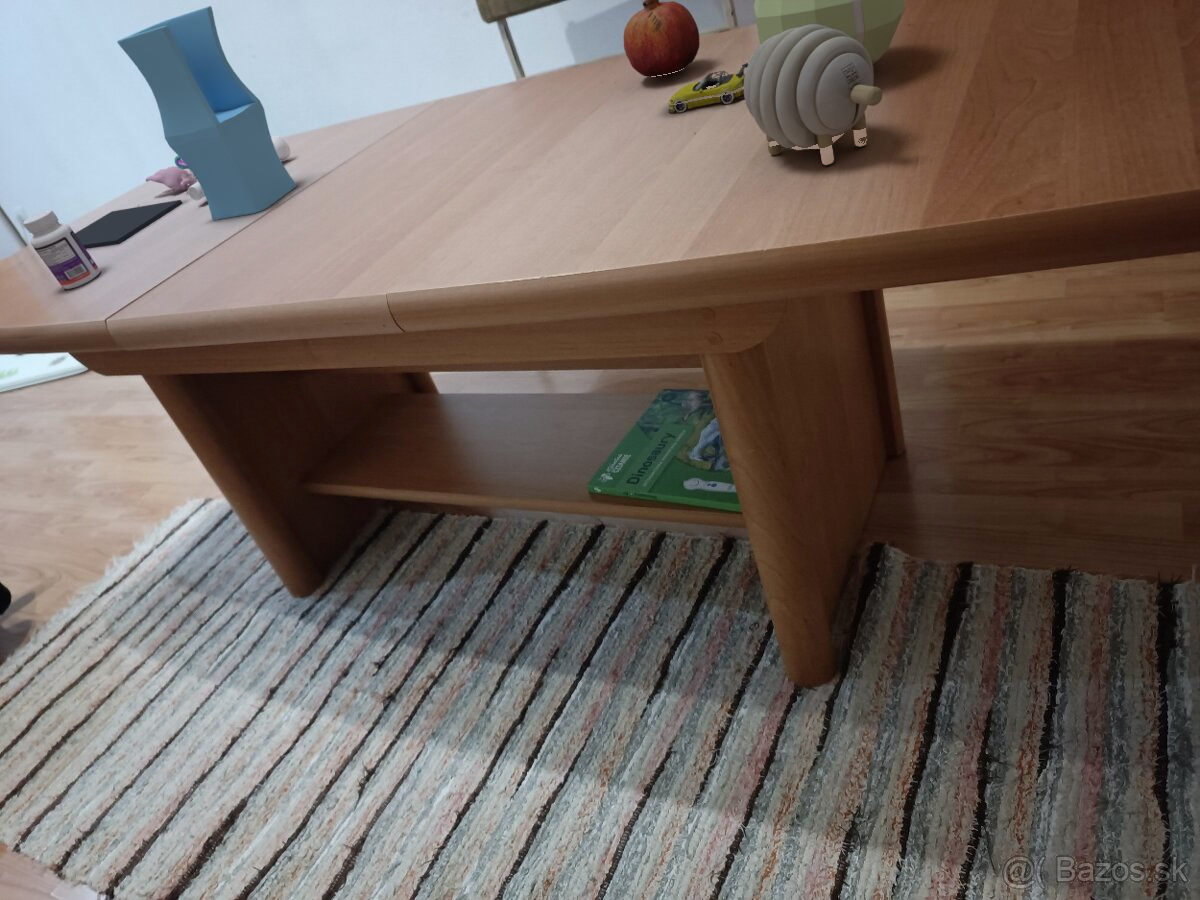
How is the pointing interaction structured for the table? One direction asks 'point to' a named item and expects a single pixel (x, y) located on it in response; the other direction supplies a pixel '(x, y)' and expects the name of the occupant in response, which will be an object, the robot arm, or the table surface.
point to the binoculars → (281, 149)
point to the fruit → (661, 39)
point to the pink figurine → (174, 176)
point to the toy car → (709, 91)
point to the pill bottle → (61, 250)
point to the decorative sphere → (834, 19)
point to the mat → (122, 224)
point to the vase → (210, 114)
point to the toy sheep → (809, 87)
